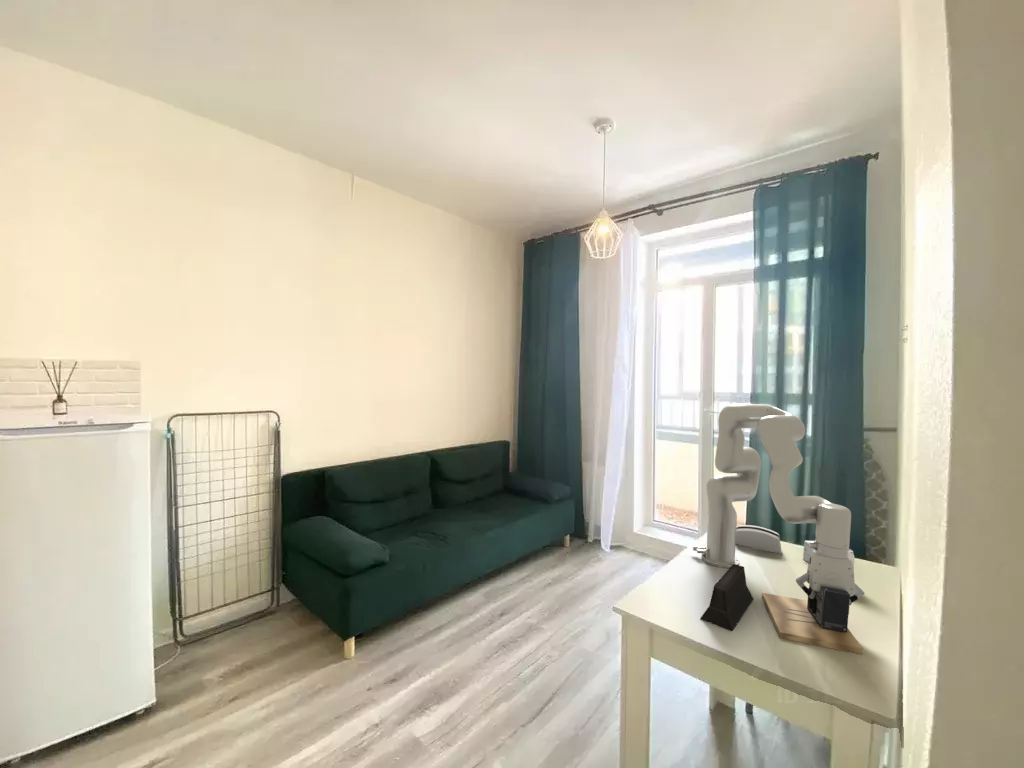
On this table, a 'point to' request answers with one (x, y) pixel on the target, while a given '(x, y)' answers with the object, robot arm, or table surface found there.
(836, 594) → the small box
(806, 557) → the skincare box
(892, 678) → the table surface
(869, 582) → the table surface
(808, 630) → the board
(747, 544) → the white arched block
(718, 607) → the barrier
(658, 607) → the table surface
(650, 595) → the table surface
